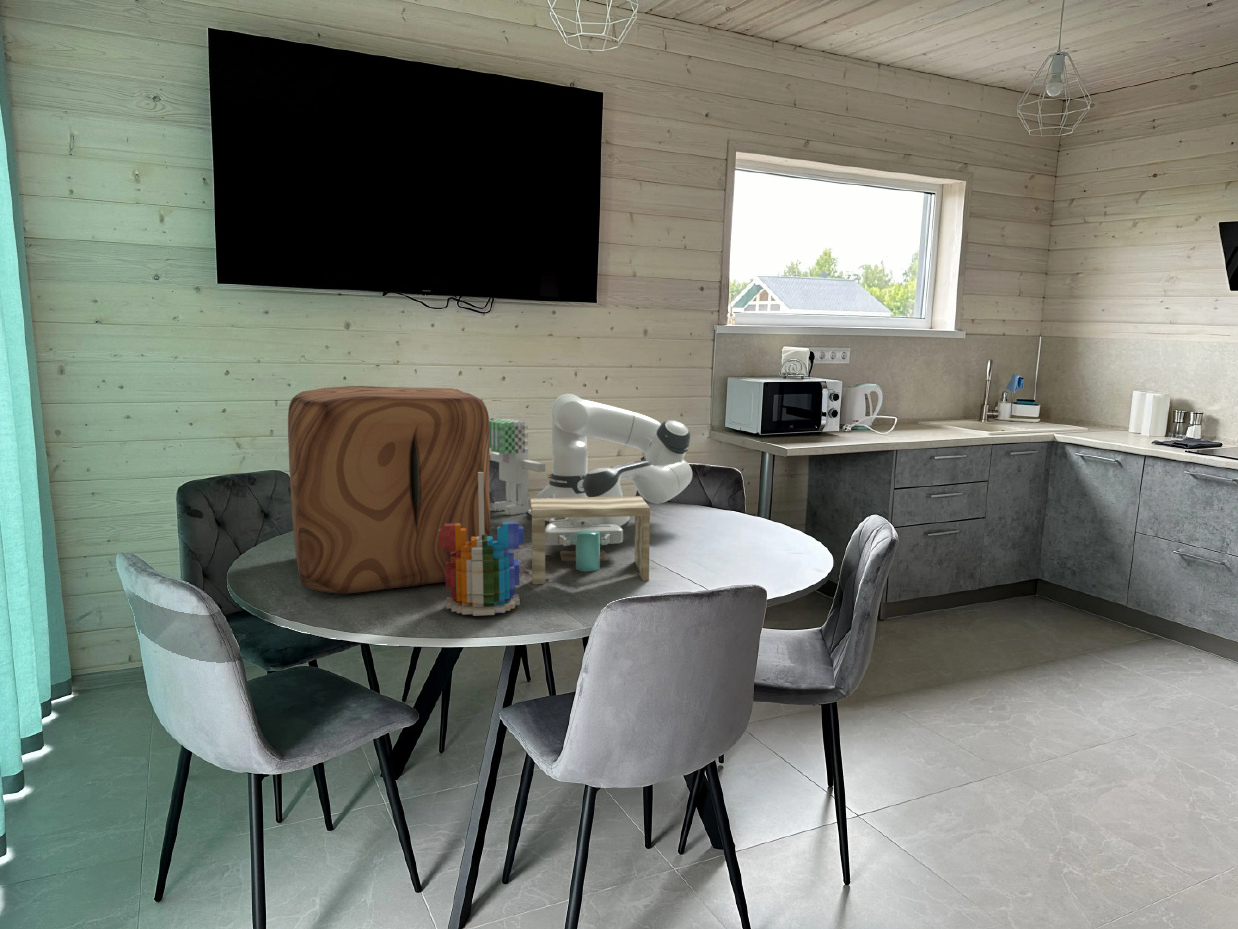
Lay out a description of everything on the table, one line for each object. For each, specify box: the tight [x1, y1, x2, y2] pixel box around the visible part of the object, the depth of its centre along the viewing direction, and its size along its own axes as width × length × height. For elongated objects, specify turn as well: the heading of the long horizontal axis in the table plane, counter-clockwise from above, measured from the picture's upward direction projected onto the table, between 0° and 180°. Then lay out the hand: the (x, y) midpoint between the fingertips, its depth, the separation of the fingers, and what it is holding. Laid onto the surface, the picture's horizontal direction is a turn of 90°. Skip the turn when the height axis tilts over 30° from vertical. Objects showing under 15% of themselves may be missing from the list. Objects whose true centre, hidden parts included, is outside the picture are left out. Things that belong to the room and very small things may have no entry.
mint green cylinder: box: [575, 530, 601, 572], centre depth 218 cm, size 6×6×10 cm
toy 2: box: [489, 418, 546, 516], centre depth 285 cm, size 30×10×30 cm, turn 39°
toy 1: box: [439, 472, 525, 617], centre depth 188 cm, size 18×16×30 cm
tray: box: [559, 549, 609, 562], centre depth 231 cm, size 10×12×1 cm
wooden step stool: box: [529, 495, 651, 585], centre depth 215 cm, size 14×28×18 cm, turn 97°
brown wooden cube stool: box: [287, 385, 491, 595], centre depth 216 cm, size 45×45×45 cm
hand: (585, 542), depth 220 cm, fingers open, 8 cm apart
